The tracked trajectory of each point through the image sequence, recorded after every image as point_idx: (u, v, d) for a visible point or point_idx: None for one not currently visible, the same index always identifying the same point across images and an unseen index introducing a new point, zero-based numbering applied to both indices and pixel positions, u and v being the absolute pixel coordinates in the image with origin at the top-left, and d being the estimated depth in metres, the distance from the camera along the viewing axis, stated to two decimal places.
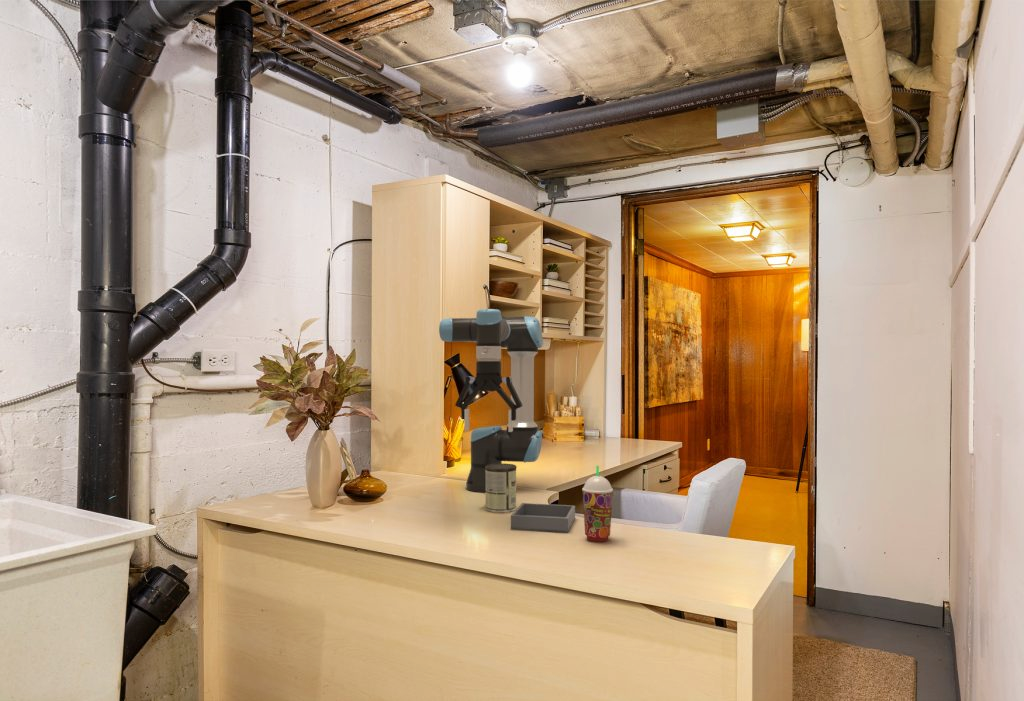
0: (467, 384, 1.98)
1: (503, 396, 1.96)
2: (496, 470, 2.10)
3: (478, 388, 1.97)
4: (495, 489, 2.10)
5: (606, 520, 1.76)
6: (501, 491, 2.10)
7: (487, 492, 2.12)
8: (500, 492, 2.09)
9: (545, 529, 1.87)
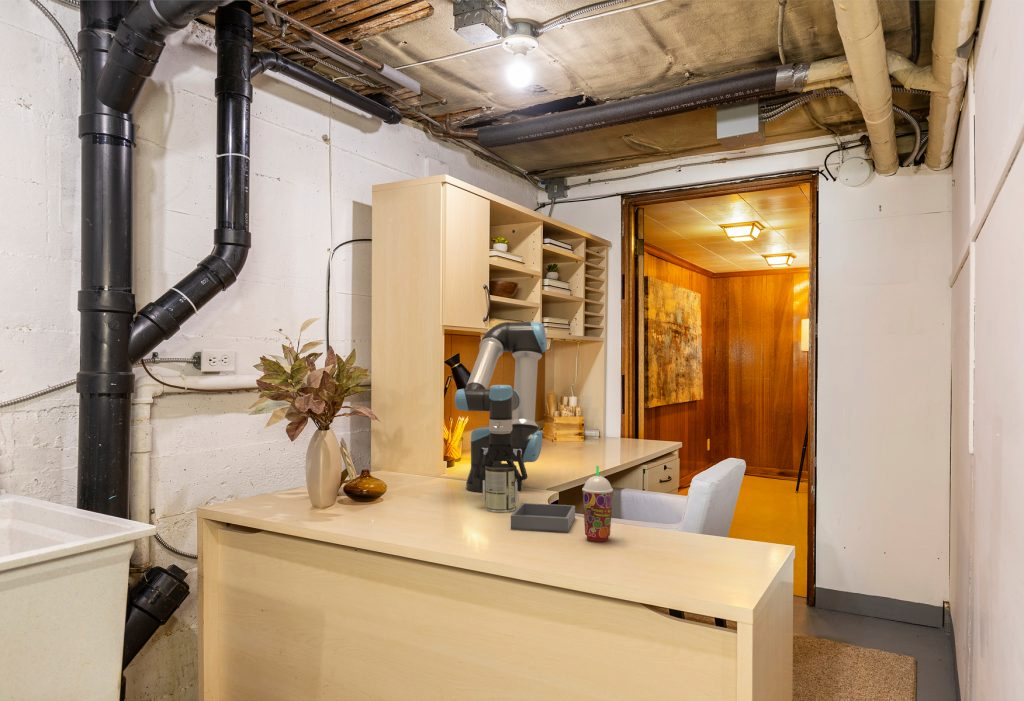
0: (482, 456, 2.15)
1: None
2: (496, 470, 2.10)
3: (492, 459, 2.13)
4: (495, 489, 2.10)
5: (606, 520, 1.76)
6: (501, 490, 2.09)
7: (487, 492, 2.12)
8: (500, 492, 2.09)
9: (545, 529, 1.87)
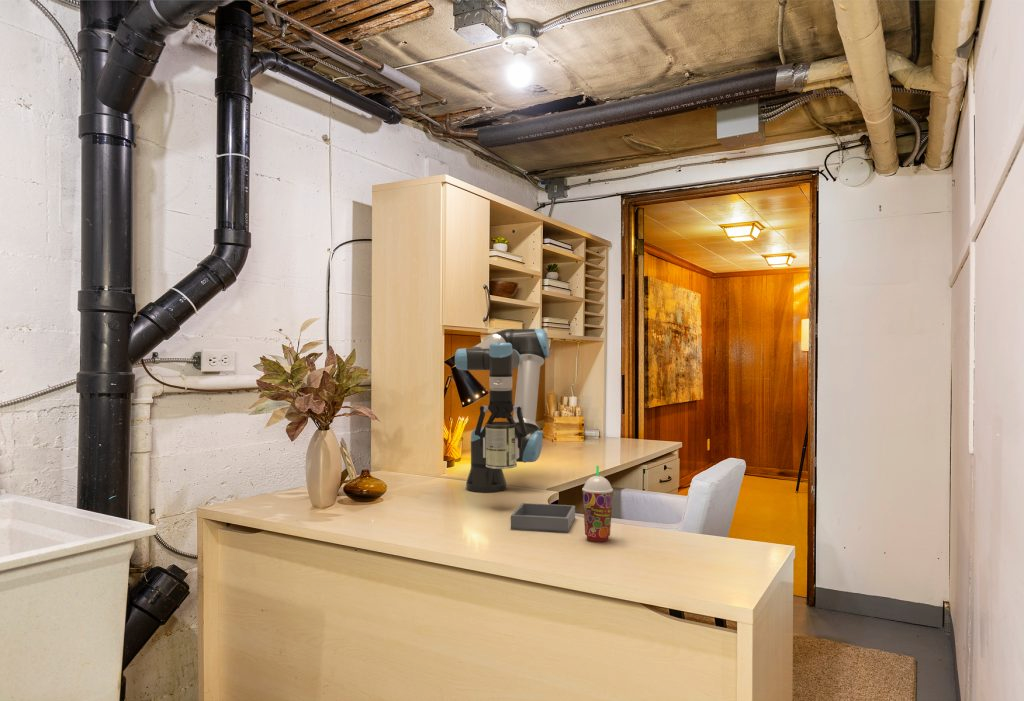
0: (482, 413, 2.15)
1: None
2: (496, 427, 2.10)
3: (492, 416, 2.14)
4: (495, 445, 2.10)
5: (606, 520, 1.76)
6: (501, 447, 2.10)
7: (487, 449, 2.12)
8: (500, 449, 2.10)
9: (545, 529, 1.87)
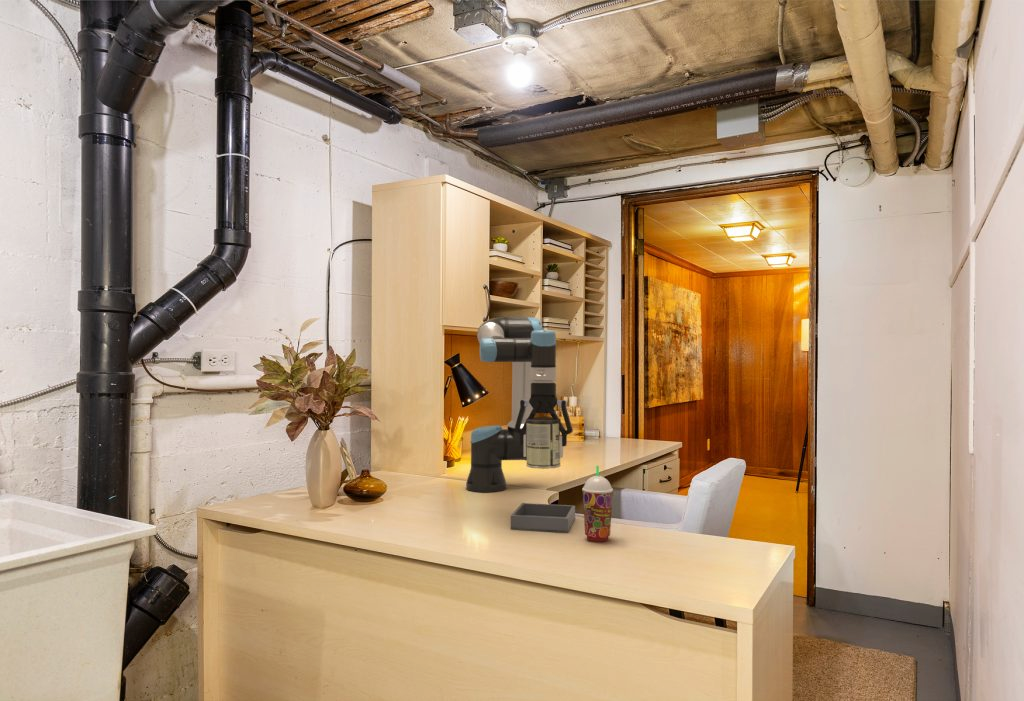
0: (522, 408, 1.96)
1: None
2: (539, 422, 1.91)
3: (534, 411, 1.94)
4: (538, 443, 1.91)
5: (606, 520, 1.76)
6: (544, 445, 1.90)
7: (529, 447, 1.93)
8: (543, 446, 1.90)
9: (545, 529, 1.87)
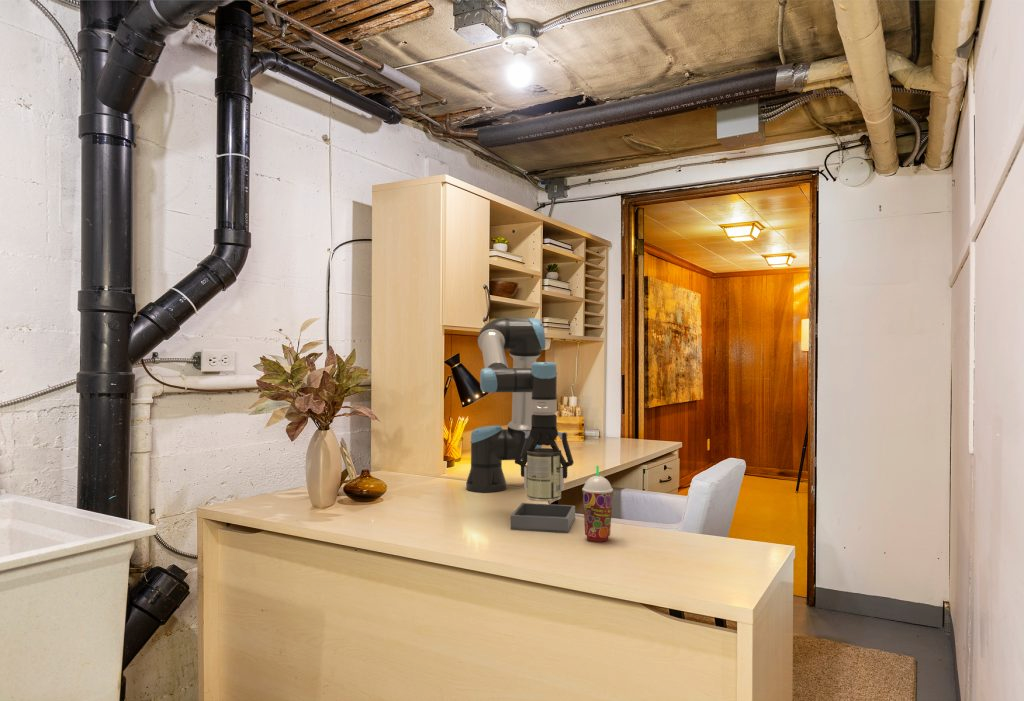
0: (523, 439, 1.95)
1: None
2: (540, 455, 1.90)
3: (535, 443, 1.94)
4: (539, 475, 1.90)
5: (606, 520, 1.76)
6: (545, 477, 1.90)
7: (529, 479, 1.93)
8: (544, 479, 1.90)
9: (545, 529, 1.87)
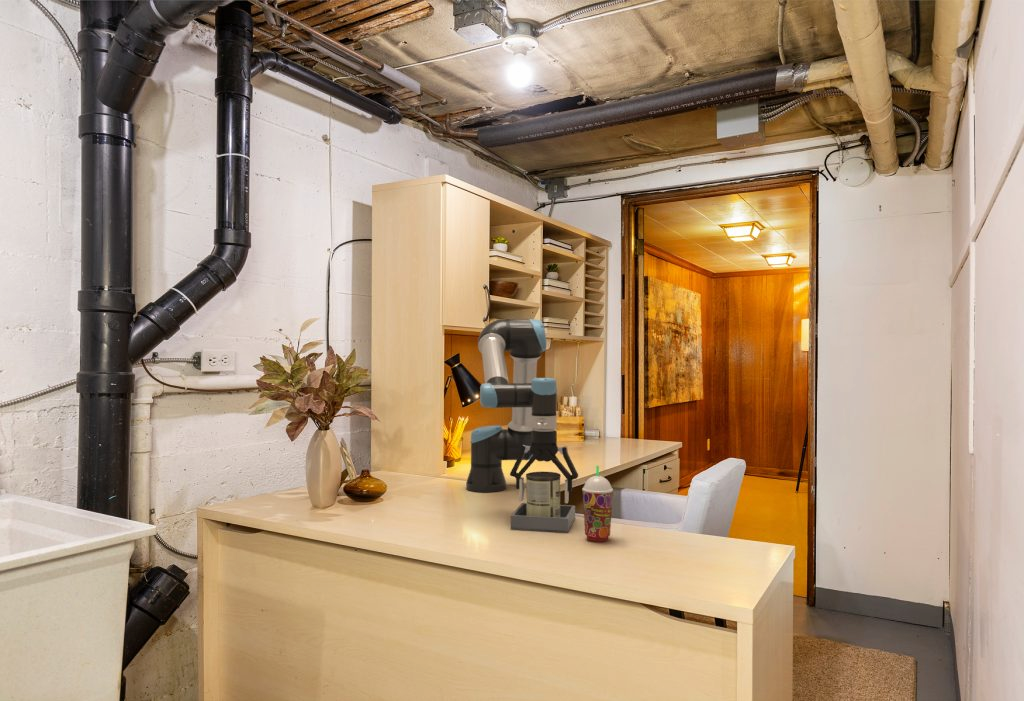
0: (522, 454, 1.95)
1: (559, 467, 1.93)
2: (539, 479, 1.90)
3: (533, 458, 1.94)
4: (538, 500, 1.91)
5: (606, 520, 1.76)
6: (544, 502, 1.90)
7: (529, 503, 1.93)
8: (543, 503, 1.90)
9: (545, 529, 1.87)
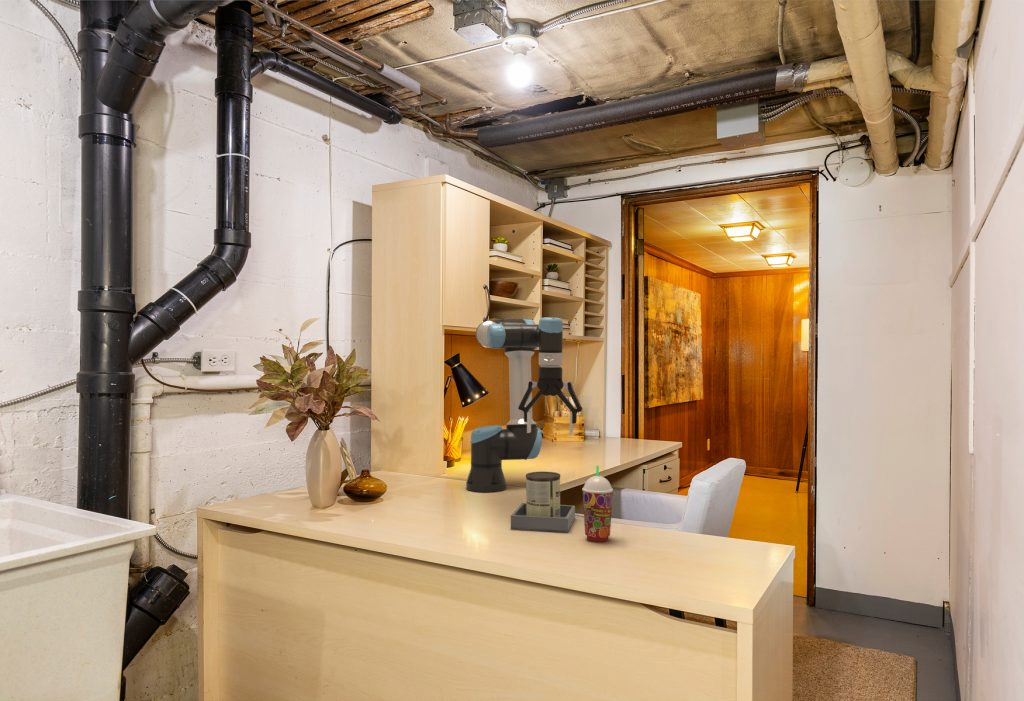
0: (530, 389, 2.08)
1: (564, 400, 2.06)
2: (539, 479, 1.90)
3: (540, 393, 2.07)
4: (538, 500, 1.91)
5: (606, 520, 1.76)
6: (544, 502, 1.90)
7: (529, 503, 1.93)
8: (543, 504, 1.90)
9: (545, 529, 1.87)
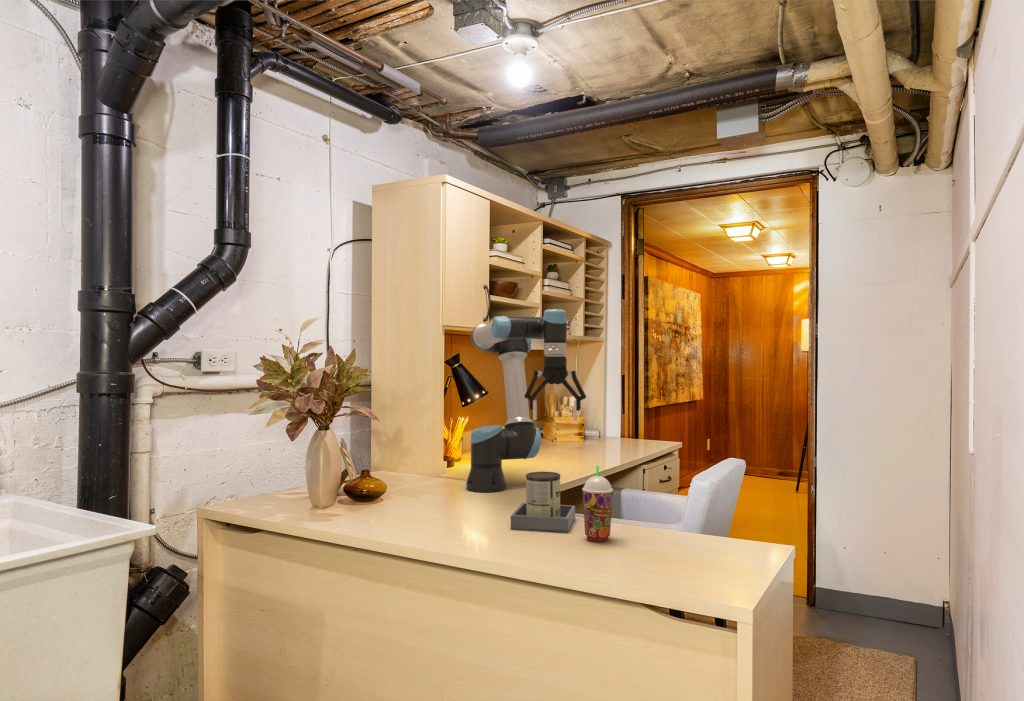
0: (535, 377, 2.17)
1: (569, 388, 2.15)
2: (539, 479, 1.90)
3: (546, 381, 2.16)
4: (538, 500, 1.91)
5: (606, 520, 1.76)
6: (544, 502, 1.90)
7: (529, 503, 1.93)
8: (543, 504, 1.90)
9: (545, 529, 1.87)
